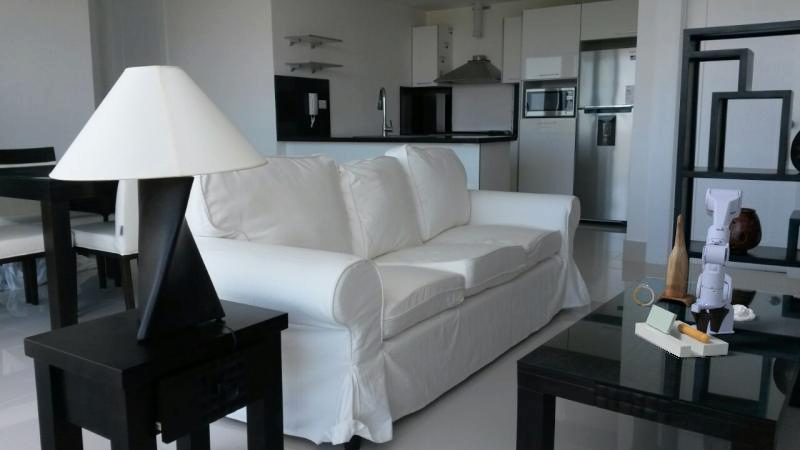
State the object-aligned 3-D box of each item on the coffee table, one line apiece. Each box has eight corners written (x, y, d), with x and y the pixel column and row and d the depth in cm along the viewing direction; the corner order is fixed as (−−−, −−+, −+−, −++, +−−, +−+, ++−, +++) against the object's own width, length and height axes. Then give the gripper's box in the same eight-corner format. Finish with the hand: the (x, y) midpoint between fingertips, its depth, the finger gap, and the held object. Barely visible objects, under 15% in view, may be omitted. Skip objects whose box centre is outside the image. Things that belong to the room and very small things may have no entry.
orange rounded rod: (684, 327, 187) (681, 320, 186) (712, 340, 175) (709, 333, 175) (677, 332, 187) (674, 325, 186) (705, 345, 175) (702, 338, 175)
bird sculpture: (694, 300, 233) (702, 214, 228) (689, 308, 223) (698, 217, 218) (661, 296, 239) (669, 211, 234) (655, 303, 229) (663, 214, 224)
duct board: (678, 331, 197) (679, 320, 196) (727, 355, 177) (728, 343, 176) (634, 334, 194) (635, 323, 193) (679, 358, 173) (680, 346, 173)
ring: (631, 305, 225) (633, 283, 224) (633, 303, 228) (635, 281, 227) (652, 308, 221) (654, 286, 220) (654, 306, 224) (656, 284, 223)
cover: (655, 305, 192) (653, 304, 192) (677, 315, 182) (674, 314, 182) (648, 323, 192) (645, 322, 192) (669, 334, 183) (666, 333, 182)
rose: (760, 305, 213) (751, 311, 206) (759, 318, 213) (749, 324, 207) (729, 299, 220) (718, 304, 213) (727, 311, 220) (717, 317, 214)
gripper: (714, 281, 187) (710, 326, 189) (683, 286, 179) (679, 333, 181) (738, 286, 181) (733, 332, 183) (706, 292, 173) (702, 340, 175)
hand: (707, 333), depth 182 cm, fingers open, 5 cm apart
